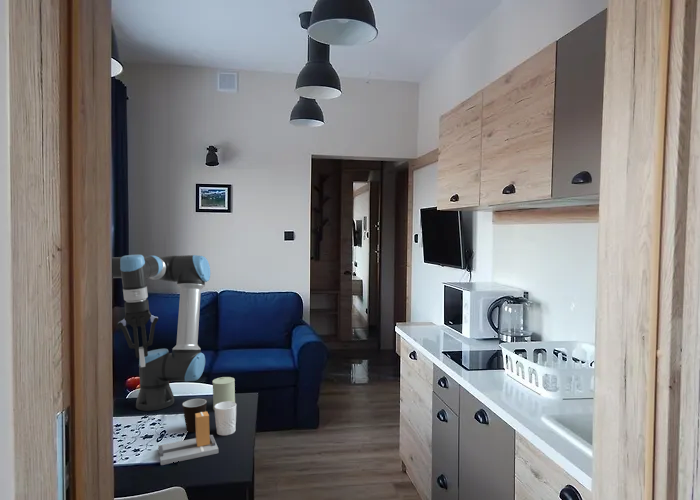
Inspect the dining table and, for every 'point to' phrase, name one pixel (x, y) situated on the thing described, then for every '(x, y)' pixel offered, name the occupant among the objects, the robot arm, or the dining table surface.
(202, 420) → the fader tab
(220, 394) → the can
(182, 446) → the rail
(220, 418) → the white cup
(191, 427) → the coffee mug
